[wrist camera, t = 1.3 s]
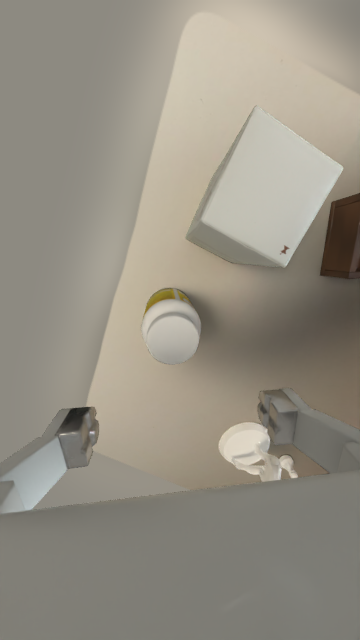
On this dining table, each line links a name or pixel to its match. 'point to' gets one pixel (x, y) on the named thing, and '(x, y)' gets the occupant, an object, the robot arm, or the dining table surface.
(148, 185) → the dining table surface
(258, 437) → the figurine
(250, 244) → the white packaging box
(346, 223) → the caddy
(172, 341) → the pill bottle
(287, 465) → the white rounded piece
